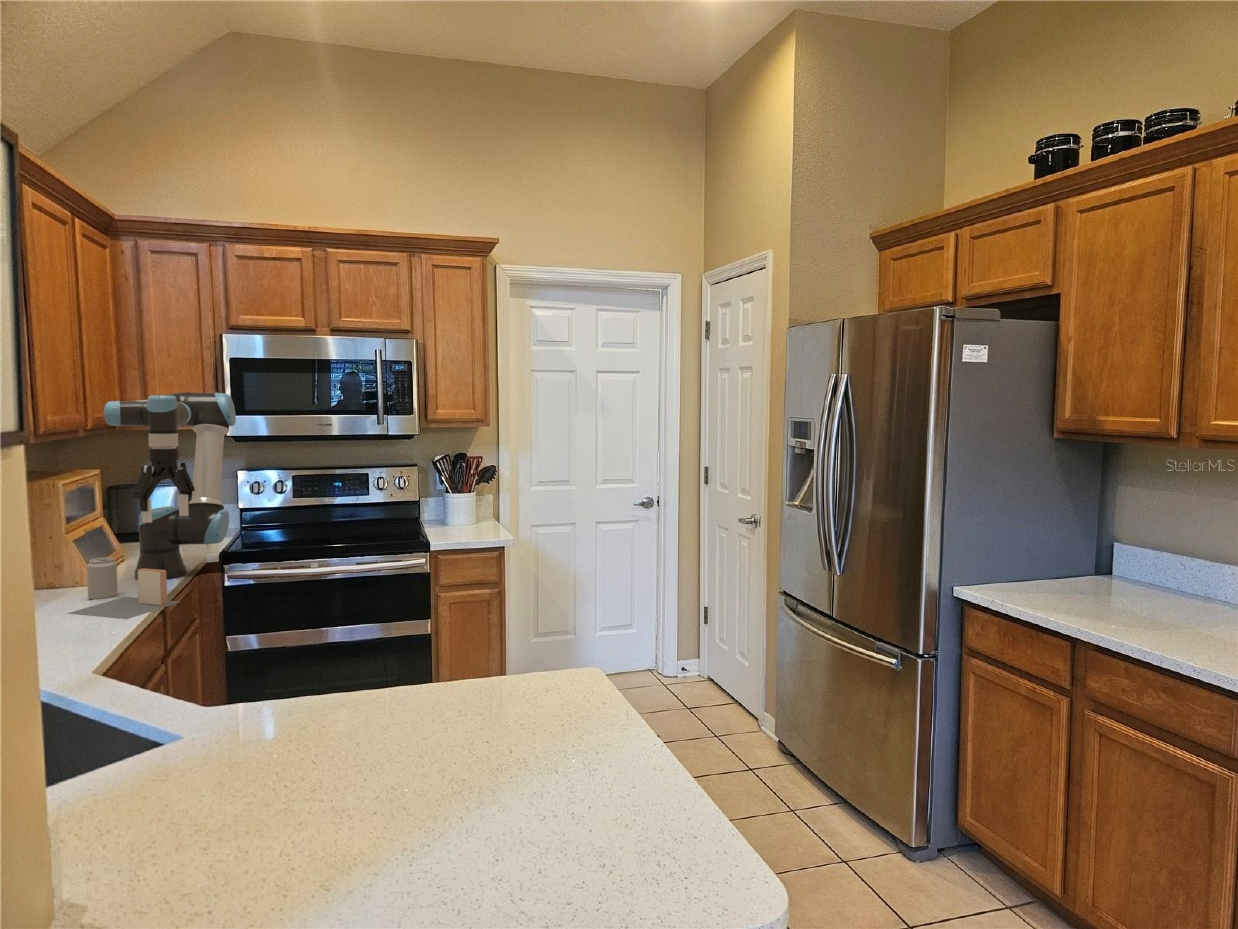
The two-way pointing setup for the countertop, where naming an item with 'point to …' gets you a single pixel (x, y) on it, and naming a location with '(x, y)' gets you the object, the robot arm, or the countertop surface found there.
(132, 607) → the mat
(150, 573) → the tile
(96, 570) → the can
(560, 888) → the countertop surface
